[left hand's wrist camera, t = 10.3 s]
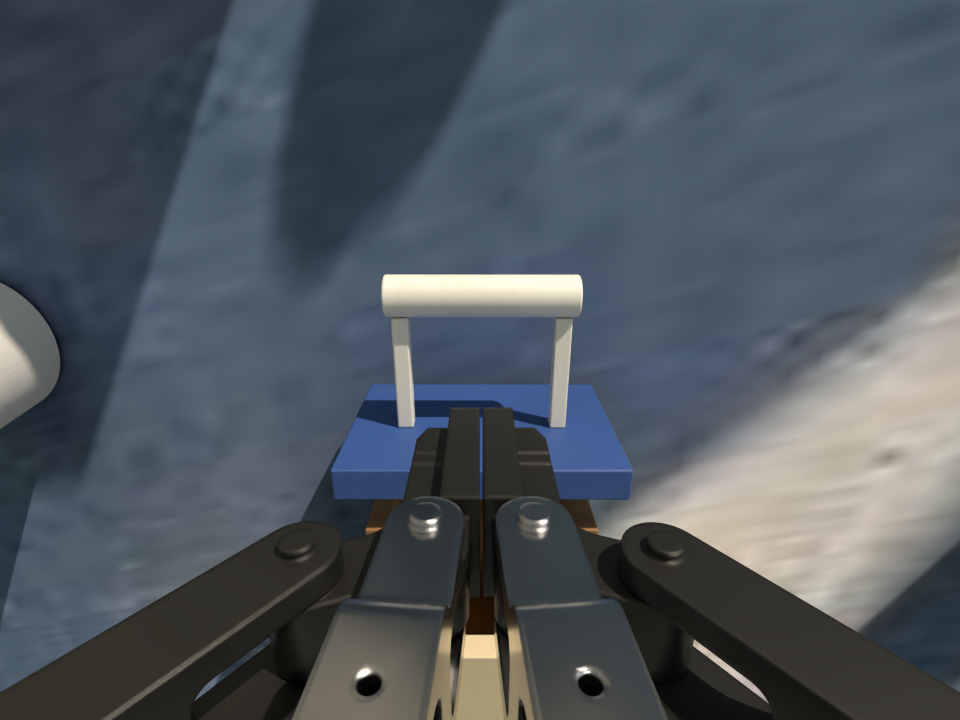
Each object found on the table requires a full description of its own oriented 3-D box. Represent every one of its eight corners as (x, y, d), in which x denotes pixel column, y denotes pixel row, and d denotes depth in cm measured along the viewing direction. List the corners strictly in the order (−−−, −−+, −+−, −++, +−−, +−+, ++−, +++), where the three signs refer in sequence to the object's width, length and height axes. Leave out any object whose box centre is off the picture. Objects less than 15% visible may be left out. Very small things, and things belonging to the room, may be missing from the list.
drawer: (360, 255, 21) (307, 297, 15) (602, 255, 21) (657, 298, 15) (394, 655, 30) (370, 794, 23) (566, 655, 30) (591, 794, 23)
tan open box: (374, 502, 27) (326, 657, 19) (587, 503, 27) (636, 657, 19) (395, 735, 34) (367, 924, 25) (565, 735, 34) (593, 924, 25)
